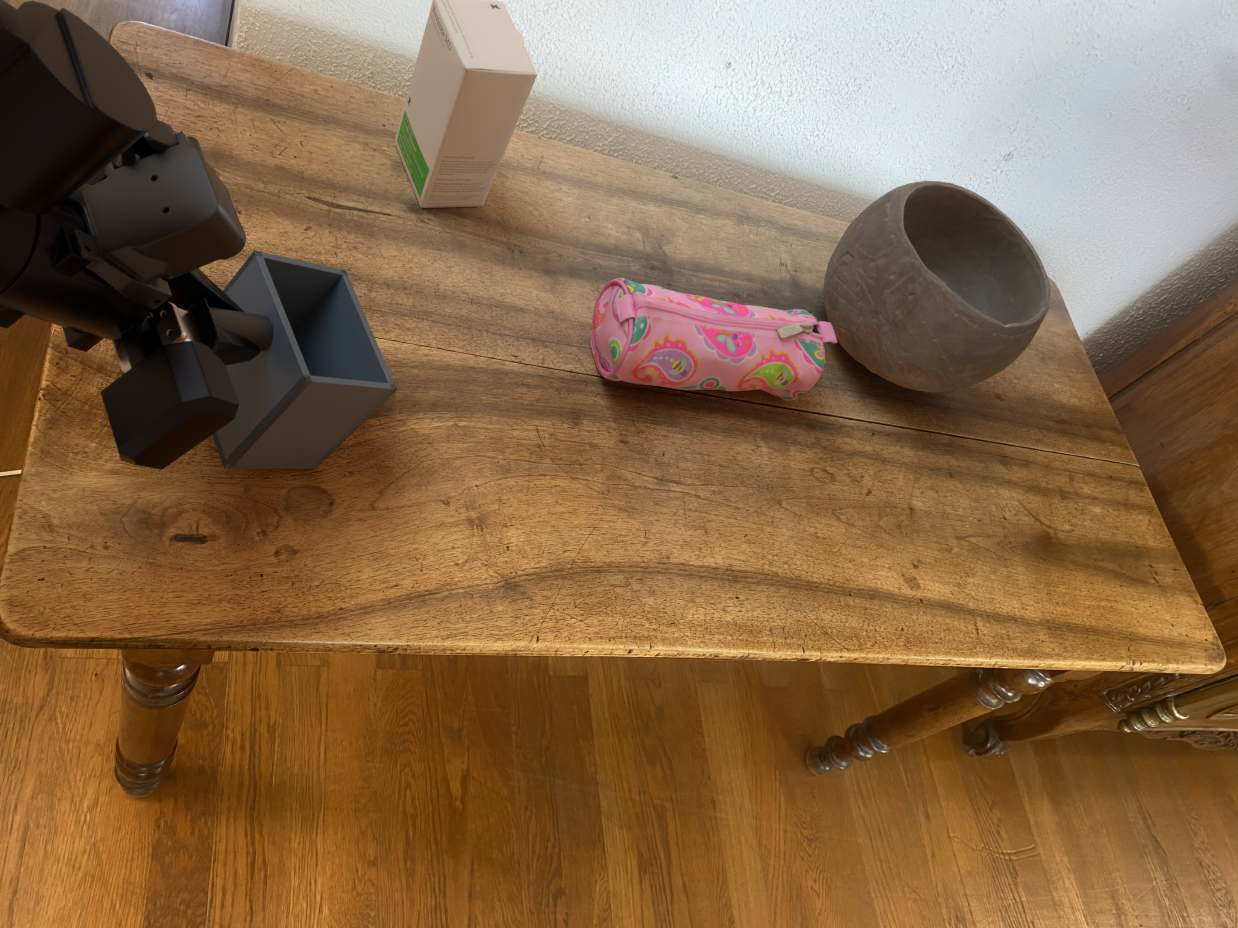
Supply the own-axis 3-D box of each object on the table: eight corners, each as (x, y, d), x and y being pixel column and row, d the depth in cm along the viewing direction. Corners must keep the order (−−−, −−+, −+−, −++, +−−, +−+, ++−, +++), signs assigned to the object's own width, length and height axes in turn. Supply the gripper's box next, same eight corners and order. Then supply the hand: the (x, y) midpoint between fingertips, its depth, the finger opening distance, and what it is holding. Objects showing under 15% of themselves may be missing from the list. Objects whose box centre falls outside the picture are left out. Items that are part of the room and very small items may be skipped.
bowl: (914, 270, 103) (1008, 177, 91) (986, 423, 94) (1100, 343, 83) (768, 256, 94) (851, 151, 82) (833, 425, 85) (937, 334, 73)
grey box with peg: (154, 469, 53) (235, 374, 48) (111, 336, 56) (184, 234, 51) (316, 469, 62) (397, 389, 57) (272, 354, 65) (346, 270, 60)
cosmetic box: (392, 142, 80) (428, -11, 68) (459, 143, 84) (505, -3, 71) (421, 212, 78) (463, 66, 65) (489, 210, 81) (541, 71, 69)
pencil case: (776, 343, 88) (827, 286, 80) (797, 421, 83) (853, 368, 76) (576, 315, 79) (614, 248, 72) (589, 401, 75) (630, 339, 68)
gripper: (181, 306, 35) (404, 395, 49) (67, -15, 40) (298, 149, 55) (-7, 448, 37) (258, 492, 52) (-90, 127, 43) (170, 248, 57)
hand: (248, 337), depth 54 cm, fingers closed on grey box with peg, 2 cm apart
